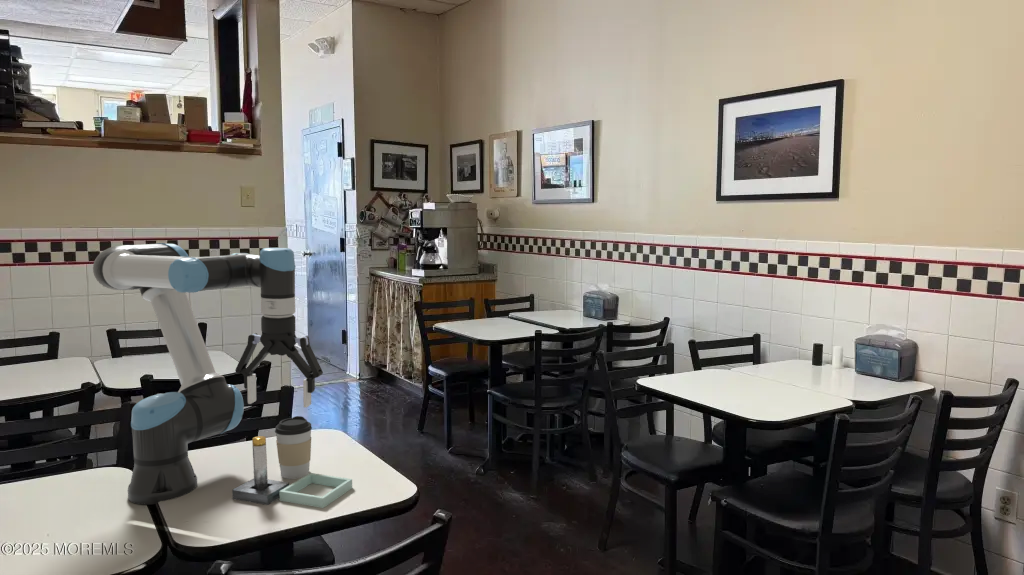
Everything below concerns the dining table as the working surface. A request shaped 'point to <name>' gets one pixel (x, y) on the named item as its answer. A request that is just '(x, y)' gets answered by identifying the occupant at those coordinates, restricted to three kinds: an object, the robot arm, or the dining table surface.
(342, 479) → the tray
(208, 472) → the dining table surface
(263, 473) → the pin
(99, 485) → the dining table surface
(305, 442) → the coffee cup
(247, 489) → the block
